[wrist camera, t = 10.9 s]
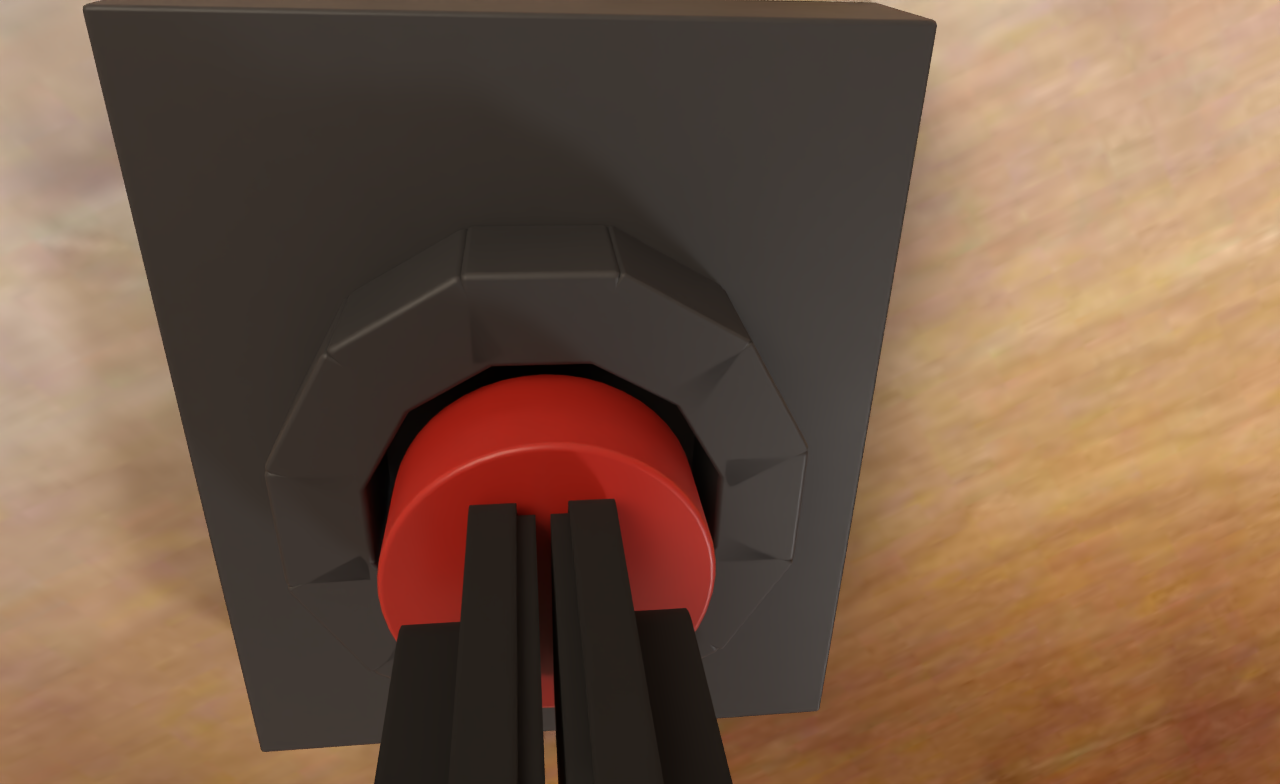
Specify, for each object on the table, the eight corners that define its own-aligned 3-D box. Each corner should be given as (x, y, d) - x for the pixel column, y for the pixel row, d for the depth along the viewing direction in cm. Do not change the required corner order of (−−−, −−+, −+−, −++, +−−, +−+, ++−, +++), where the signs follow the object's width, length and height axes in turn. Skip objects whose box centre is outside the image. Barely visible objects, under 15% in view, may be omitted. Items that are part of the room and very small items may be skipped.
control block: (148, -14, 12) (-2, 25, 9) (878, 1, 13) (1008, 40, 10) (288, 660, 18) (232, 848, 14) (789, 629, 19) (851, 795, 15)
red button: (378, 375, 11) (356, 452, 10) (701, 366, 12) (729, 439, 10) (408, 625, 13) (393, 722, 11) (684, 608, 13) (706, 699, 12)
